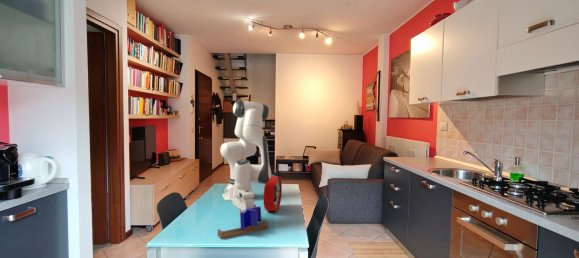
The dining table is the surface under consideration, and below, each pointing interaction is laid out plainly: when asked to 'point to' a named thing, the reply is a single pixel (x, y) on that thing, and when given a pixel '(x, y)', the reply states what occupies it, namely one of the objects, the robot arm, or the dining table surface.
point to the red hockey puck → (272, 194)
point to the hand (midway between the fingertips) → (242, 217)
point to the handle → (242, 230)
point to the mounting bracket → (250, 217)
